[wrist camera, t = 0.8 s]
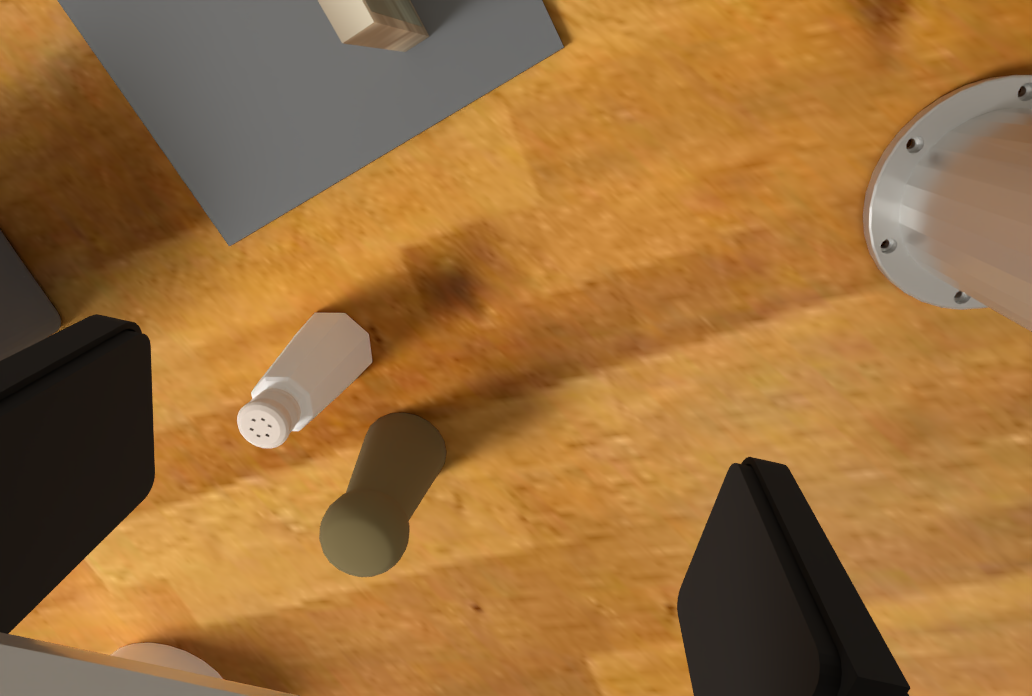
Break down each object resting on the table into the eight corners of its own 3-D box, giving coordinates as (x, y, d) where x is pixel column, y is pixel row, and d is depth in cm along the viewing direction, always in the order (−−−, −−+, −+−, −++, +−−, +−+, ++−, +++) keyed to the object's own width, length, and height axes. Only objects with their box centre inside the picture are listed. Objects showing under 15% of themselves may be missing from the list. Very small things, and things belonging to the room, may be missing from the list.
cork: (361, 410, 45) (297, 505, 35) (445, 415, 45) (404, 513, 35) (368, 481, 48) (309, 589, 38) (447, 486, 47) (410, 598, 37)
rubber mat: (410, -282, 30) (407, -287, 30) (564, 47, 35) (563, 47, 34) (63, -1, 36) (56, -2, 36) (233, 244, 41) (229, 246, 41)
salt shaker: (307, 296, 42) (220, 365, 32) (384, 327, 43) (321, 404, 32) (289, 365, 44) (202, 449, 34) (362, 393, 45) (298, 485, 35)
